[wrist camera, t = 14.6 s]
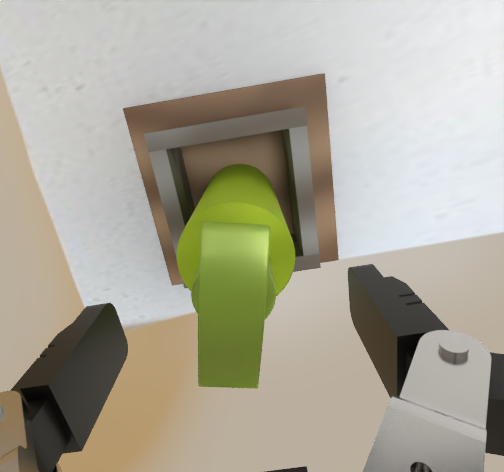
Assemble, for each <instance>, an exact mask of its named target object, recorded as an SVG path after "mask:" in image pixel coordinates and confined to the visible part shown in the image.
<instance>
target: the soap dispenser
mask: <svg viewBox="0 0 504 472" xmlns="http://www.w3.org/2000/svg"><path fill="white" fill-rule="evenodd" d="M177 264H178V269H179V272H180V275H181V277H182V279H183V281H184V283H185V284H186V286H187V287H188V288H189V289H190V291H191V296H192V302H193V306H194V308H195V310H196V312H197V313H198V383H199V386H203V387H232V388H258V381H259V371H260V362H261V352H262V341H263V331H264V320H265V319H266V318H267V317H268V315H269V314H270V313H271V311H272V309H273V307H274V304H275V299H276V296H277V295H278V294H279V293H280V292H281V291H282V290H283V289H284V288H285V286H286V285H287V283H288V282H289V280H290V278H291V275H292V273H293V269H294V265H295V248H294V243H293V240H292V237H291V235H290V232H289V229H288V227H287V224H286V221H285V219H284V216H283V213H282V211H281V208H280V206H279V203H278V200H277V198H276V195H275V192H274V190H273V187H272V184H271V182H270V181H269V179H268V178H267V176H266V175H265V174H264V173H263V172H262V171H260V170H259V169H257V168H255V167H253V166H251V165H247V164H233V165H229V166H227V167H225V168H223V169H221V170H220V171H218V172H217V173H216V174H215V175H214V177H213V178H212V179H211V181H210V183H209V185H208V186H207V188H206V190H205V192H204V194H203V196H202V197H201V199H200V201H199V203H198V205H197V207H196V208H195V210H194V212H193V214H192V216H191V217H190V219H189V221H188V223H187V225H186V227H185V228H184V230H183V232H182V234H181V236H180V239H179V242H178V247H177Z"/></svg>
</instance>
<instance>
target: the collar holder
mask: <svg viewBox="0 0 504 472" xmlns="http://www.w3.org/2000/svg"><path fill="white" fill-rule="evenodd" d="M123 111H124V114H125V118H126V121H127V125H128V129H129V132H130V136H131V139H132V143H133V146H134V150H135V154H136V157H137V161H138V164H139V168H140V172H141V175H142V179H143V182H144V186H145V190H146V193H147V197H148V200H149V204H150V208H151V211H152V215H153V218H154V222H155V226H156V229H157V233H158V236H159V240H160V244H161V247H162V251H163V254H164V258H165V261H166V265H167V269H168V272H169V276H170V279H171V283H172V285H177V284H184V288H188V287H187V286H186V284H185V283H184V281H183V279H182V277H181V275H180V272H179V269H178V264H177V247H178V242H179V239H180V236H181V234H182V232H183V230H184V228H185V227H186V225H187V223H188V221H189V219H190V217H191V216H192V214H193V212H194V210H195V208H196V207H197V205H198V203H199V201H200V199H201V197H202V196H203V194H204V192H205V190H206V188H207V186H208V185H209V183H210V181H211V179H212V178H213V177H214V175H215V174H216V173H217V172H218V171H220V170H221V169H223V168H225V167H227V166H229V165H233V164H247V165H251V166H253V167H255V168H257V169H259V170H260V171H262V172H263V173H264V174H265V175H266V176H267V178H268V179H269V181H270V182H271V184H272V187H273V190H274V192H275V195H276V198H277V200H278V203H279V206H280V208H281V211H282V213H283V216H284V219H285V221H286V224H287V227H288V229H289V232H290V235H291V237H292V240H293V243H294V248H295V265H294V269H293V272H295V271H301V270H308V269H315V268H320V263H322V262H329V261H335V260H338V247H337V233H336V220H335V206H334V192H333V179H332V165H331V152H330V138H329V124H328V111H327V97H326V83H325V73H324V74H318V75H313V76H307V77H301V78H295V79H290V80H284V81H278V82H272V83H267V84H261V85H255V86H249V87H244V88H238V89H232V90H226V91H221V92H215V93H209V94H203V95H198V96H192V97H186V98H180V99H175V100H169V101H163V102H157V103H152V104H146V105H140V106H134V107H129V108H123Z"/></svg>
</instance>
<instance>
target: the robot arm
mask: <svg viewBox="0 0 504 472" xmlns="http://www.w3.org/2000/svg"><path fill="white" fill-rule="evenodd" d="M348 282H349V300H350V312H351V317H352V320H353V324H354V326H355V328H356V330H357V332H358V334H359V336H360V338H361V340H362V342H363V344H364V346H365V348H366V350H367V352H368V354H369V356H370V358H371V360H372V362H373V364H374V366H375V368H376V370H377V372H378V374H379V376H380V378H381V380H382V382H383V384H384V386H385V388H386V390H387V392H388V394H389V396H390V398H391V400H390V402H389V404H388V406H387V409H386V412H385V414H384V417H383V420H382V423H381V425H380V428H379V431H378V433H377V436H376V438H375V441H374V444H373V446H372V449H371V452H370V454H369V457H368V460H367V462H366V465H365V468H364V471H363V472H484V460H485V453H491V454H497V455H502V456H504V354H496V353H491V352H489V350H488V349H487V348H486V347H485V346H484V345H483V344H482V343H480V342H479V341H478V340H476V339H475V338H473V337H471V336H469V335H466V334H464V333H460V332H456V331H450V330H448V328H447V327H446V326H445V325H444V324H443V323H442V322H441V321H440V320H439V319H438V318H437V316H436V315H435V314H434V313H433V312H432V311H431V310H430V309H429V308H428V307H427V306H426V305H425V304H424V303H422V300H421V299H420V298H419V297H418V296H417V295H415V293H414V292H413V291H412V289H411V288H410V287H409V286H408V285H407V284H406V283H404V282H402V281H400V280H398V279H396V278H394V277H385V278H384V277H383V276H382V275H381V274H380V272H379V271H378V270H377V269H376V268H375V266H374V265H373V264H369V265H363V266H356V267H350V268H349V269H348ZM127 353H128V344H127V339H126V337H125V334H124V331H123V328H122V326H121V323H120V320H119V317H118V315H117V312H116V309H115V307H114V306H113V305H112V304H111V303H106V304H100V305H93V306H87V307H86V308H85V309H84V310H83V311H82V313H81V314H80V315H79V316H78V317H77V319H76V320H75V321H74V322H73V323H72V324H71V325H69V326H68V327H67V328H65V329H64V330H63V331H61V332H60V333H59V334H58V335H57V336H56V337H55V338H54V339H53V340H52V342H51V343H50V344H49V345H48V348H46V349H45V350H44V351H43V352H42V354H41V355H40V358H37V359H36V361H35V362H34V363H33V364H32V365H31V367H30V368H29V369H28V370H27V371H26V373H25V374H24V375H23V376H22V377H21V379H20V380H19V381H18V382H17V383H16V385H15V386H14V387H13V388H12V389H11V390H10V391H6V392H1V393H0V472H62V470H61V467H60V466H59V464H58V461H59V459H60V457H61V455H62V454H63V453H71V452H78V451H82V449H83V447H84V445H85V443H86V441H87V439H88V437H89V435H90V433H91V430H92V428H93V427H94V424H95V422H96V420H97V418H98V416H99V414H100V412H101V410H102V408H103V406H104V404H105V401H106V400H107V397H108V395H109V393H110V391H111V389H112V387H113V385H114V383H115V381H116V379H117V377H118V374H119V373H120V370H121V368H122V366H123V364H124V362H125V360H126V357H127ZM267 472H307V467H298V468H290V469H282V470H275V471H267Z"/></svg>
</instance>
